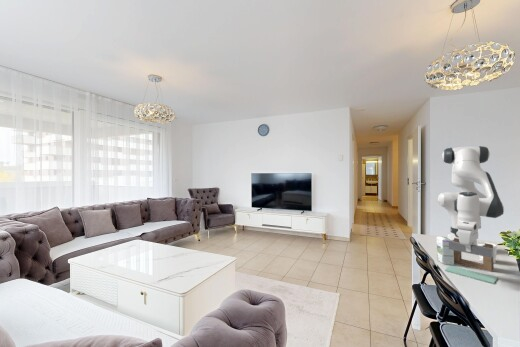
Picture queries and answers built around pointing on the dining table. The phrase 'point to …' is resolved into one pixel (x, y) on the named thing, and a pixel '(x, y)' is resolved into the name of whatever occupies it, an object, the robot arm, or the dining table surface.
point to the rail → (474, 249)
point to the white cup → (493, 251)
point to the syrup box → (444, 251)
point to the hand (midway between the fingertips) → (469, 250)
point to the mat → (471, 274)
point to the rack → (486, 264)
